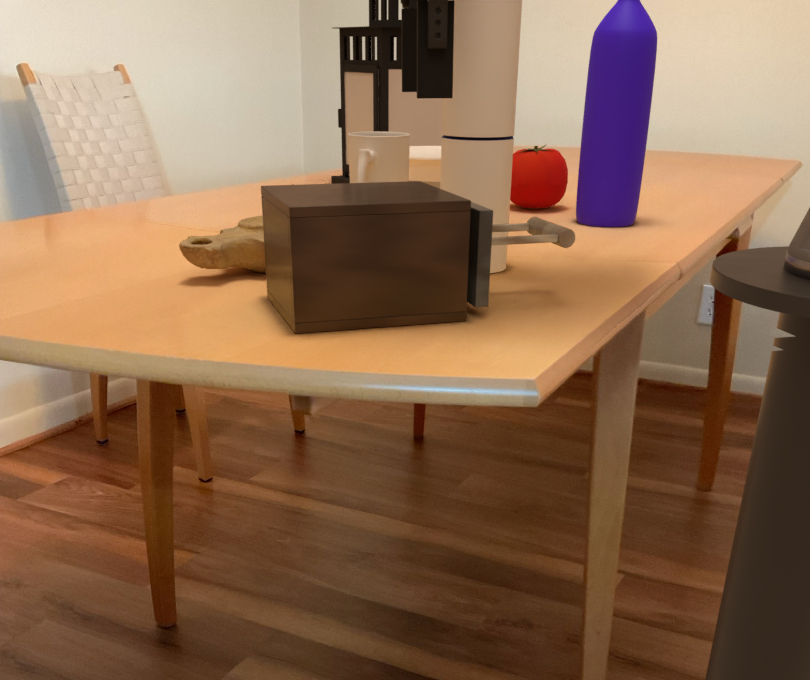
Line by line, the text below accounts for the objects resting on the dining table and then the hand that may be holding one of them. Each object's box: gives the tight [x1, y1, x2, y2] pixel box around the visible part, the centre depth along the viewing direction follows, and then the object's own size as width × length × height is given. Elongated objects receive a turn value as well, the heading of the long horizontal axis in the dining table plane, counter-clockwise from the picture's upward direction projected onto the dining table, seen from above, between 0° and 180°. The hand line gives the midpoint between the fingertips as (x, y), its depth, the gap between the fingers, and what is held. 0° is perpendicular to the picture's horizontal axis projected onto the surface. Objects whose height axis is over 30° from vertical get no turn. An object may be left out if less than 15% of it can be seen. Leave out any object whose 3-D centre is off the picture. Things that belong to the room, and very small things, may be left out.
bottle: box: [575, 0, 658, 228], centre depth 116 cm, size 8×8×30 cm
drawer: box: [467, 202, 576, 309], centre depth 80 cm, size 22×11×8 cm, turn 108°
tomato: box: [510, 144, 569, 210], centre depth 131 cm, size 9×10×8 cm
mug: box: [348, 131, 410, 183], centre depth 101 cm, size 10×7×12 cm, turn 163°
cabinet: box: [260, 181, 471, 334], centre depth 78 cm, size 15×13×10 cm
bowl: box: [409, 146, 441, 189], centre depth 121 cm, size 16×16×8 cm
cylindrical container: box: [440, 0, 523, 274], centre depth 90 cm, size 7×7×25 cm
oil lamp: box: [178, 215, 266, 274], centre depth 92 cm, size 11×14×5 cm
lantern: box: [330, 0, 444, 184], centre depth 145 cm, size 17×17×35 cm
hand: (425, 95), depth 77 cm, fingers open, 13 cm apart
